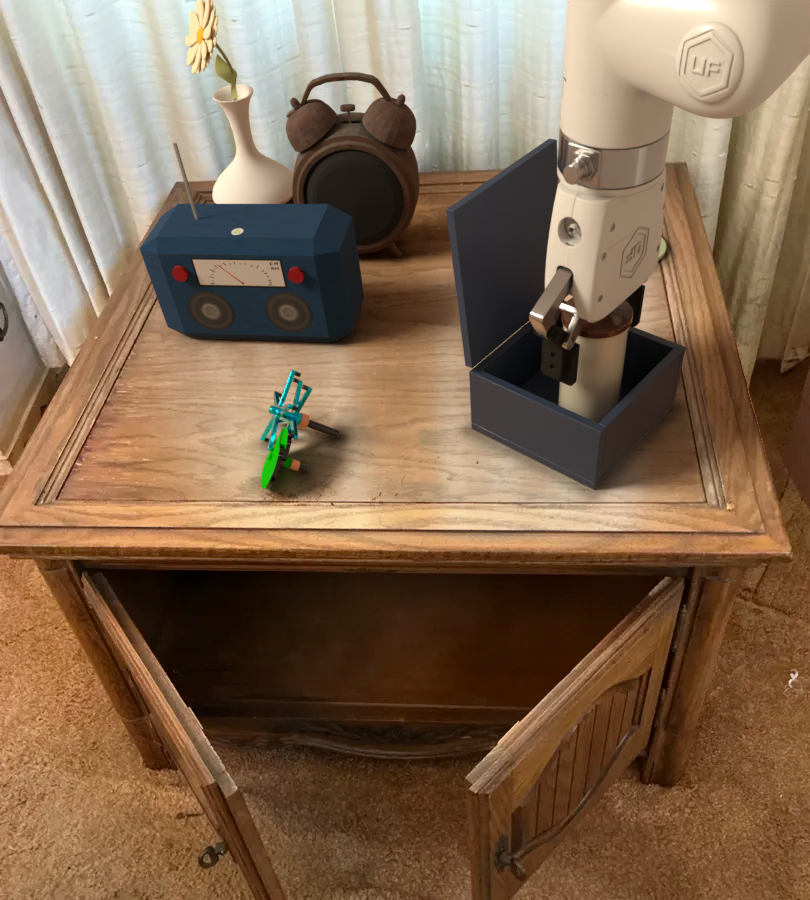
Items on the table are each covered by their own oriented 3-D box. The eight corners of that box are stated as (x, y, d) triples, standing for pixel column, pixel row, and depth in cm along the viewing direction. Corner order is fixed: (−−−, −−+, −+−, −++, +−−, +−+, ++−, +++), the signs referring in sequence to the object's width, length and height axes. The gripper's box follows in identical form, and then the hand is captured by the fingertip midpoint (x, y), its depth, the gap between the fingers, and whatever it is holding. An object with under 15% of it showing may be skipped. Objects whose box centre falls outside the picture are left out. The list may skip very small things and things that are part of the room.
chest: (674, 405, 80) (686, 346, 75) (594, 490, 74) (601, 432, 69) (554, 355, 86) (557, 297, 81) (471, 428, 80) (468, 371, 75)
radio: (167, 345, 93) (101, 167, 78) (192, 298, 99) (136, 124, 84) (351, 351, 90) (319, 166, 75) (367, 303, 95) (341, 121, 80)
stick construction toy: (264, 390, 83) (292, 352, 76) (328, 414, 86) (361, 380, 79) (239, 499, 78) (267, 469, 72) (309, 522, 81) (342, 494, 75)
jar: (619, 398, 80) (633, 292, 71) (618, 440, 76) (633, 334, 68) (557, 395, 81) (563, 290, 72) (553, 436, 77) (559, 331, 69)
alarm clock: (302, 271, 101) (266, 95, 86) (310, 238, 105) (277, 66, 90) (424, 265, 99) (409, 85, 84) (427, 232, 104) (413, 56, 89)
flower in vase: (217, 186, 116) (161, -23, 98) (299, 175, 116) (259, -36, 98) (213, 235, 108) (150, 17, 89) (301, 223, 108) (258, 2, 89)
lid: (557, 139, 70) (549, 138, 71) (453, 211, 64) (445, 209, 65) (561, 294, 81) (554, 292, 81) (472, 368, 74) (465, 366, 75)
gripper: (588, 220, 54) (570, 421, 67) (721, 116, 62) (681, 314, 75) (495, 189, 58) (494, 385, 71) (631, 93, 65) (608, 286, 79)
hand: (591, 348), depth 73 cm, fingers open, 9 cm apart
